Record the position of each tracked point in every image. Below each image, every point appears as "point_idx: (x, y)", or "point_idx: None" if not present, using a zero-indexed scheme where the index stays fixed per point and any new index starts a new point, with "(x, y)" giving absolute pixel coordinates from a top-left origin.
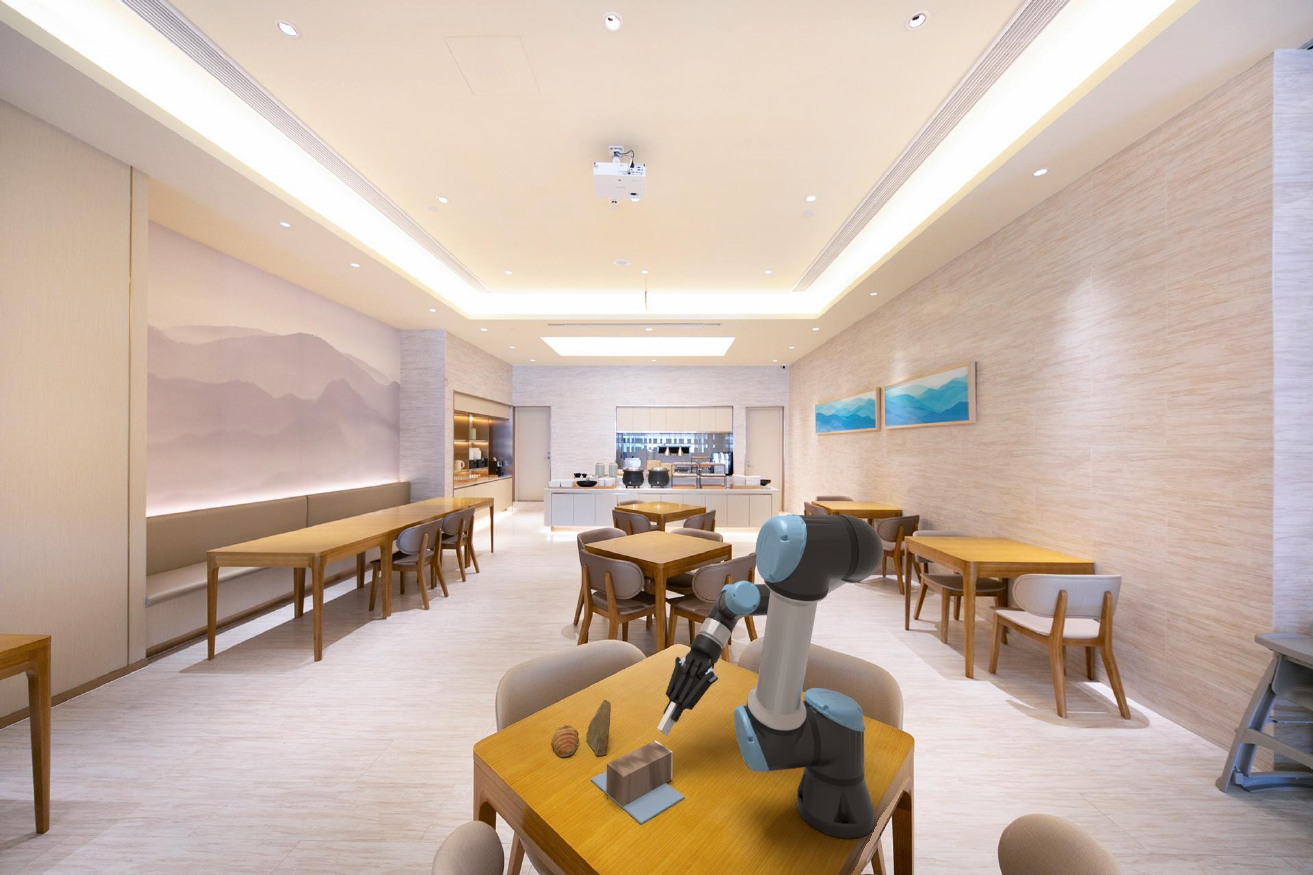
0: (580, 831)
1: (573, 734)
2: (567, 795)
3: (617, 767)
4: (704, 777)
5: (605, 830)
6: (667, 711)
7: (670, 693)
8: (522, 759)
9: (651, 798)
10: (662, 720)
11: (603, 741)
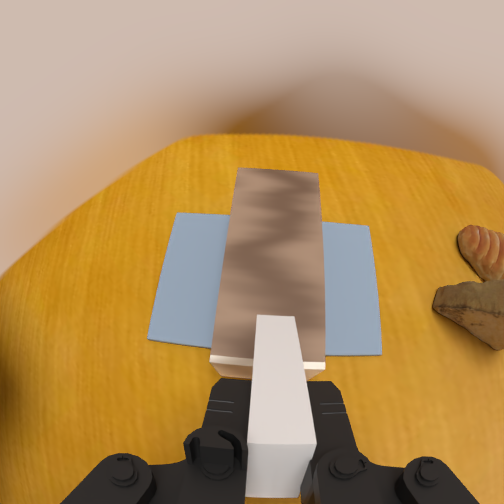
0: (252, 149)
1: (500, 260)
2: (349, 178)
3: (282, 178)
4: (160, 450)
5: (222, 170)
6: (292, 381)
7: (403, 495)
8: (471, 190)
9: (209, 276)
10: (288, 340)
11: (456, 294)
